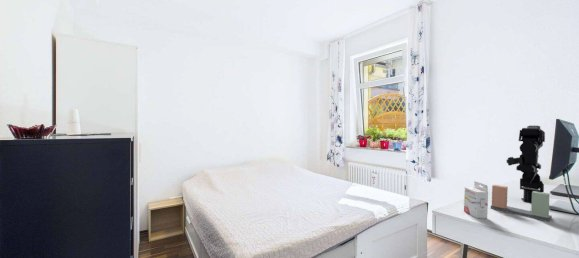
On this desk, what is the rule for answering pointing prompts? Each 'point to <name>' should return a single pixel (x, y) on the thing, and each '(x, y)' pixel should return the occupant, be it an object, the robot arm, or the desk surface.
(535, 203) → the pale green block
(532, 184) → the robot arm
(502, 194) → the peach button block
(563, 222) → the desk surface
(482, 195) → the ink cartridge box
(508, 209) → the grey flat slab
